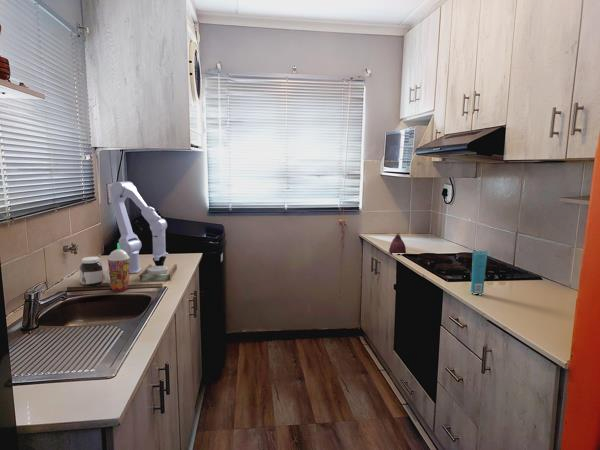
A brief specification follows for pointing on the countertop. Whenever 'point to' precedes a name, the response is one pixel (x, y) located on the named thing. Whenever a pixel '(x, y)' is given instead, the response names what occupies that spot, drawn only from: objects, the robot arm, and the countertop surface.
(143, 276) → the channel
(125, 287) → the smoothie
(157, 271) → the ramekin
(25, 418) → the countertop surface
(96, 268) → the spread jar
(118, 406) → the countertop surface
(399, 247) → the vegetable
